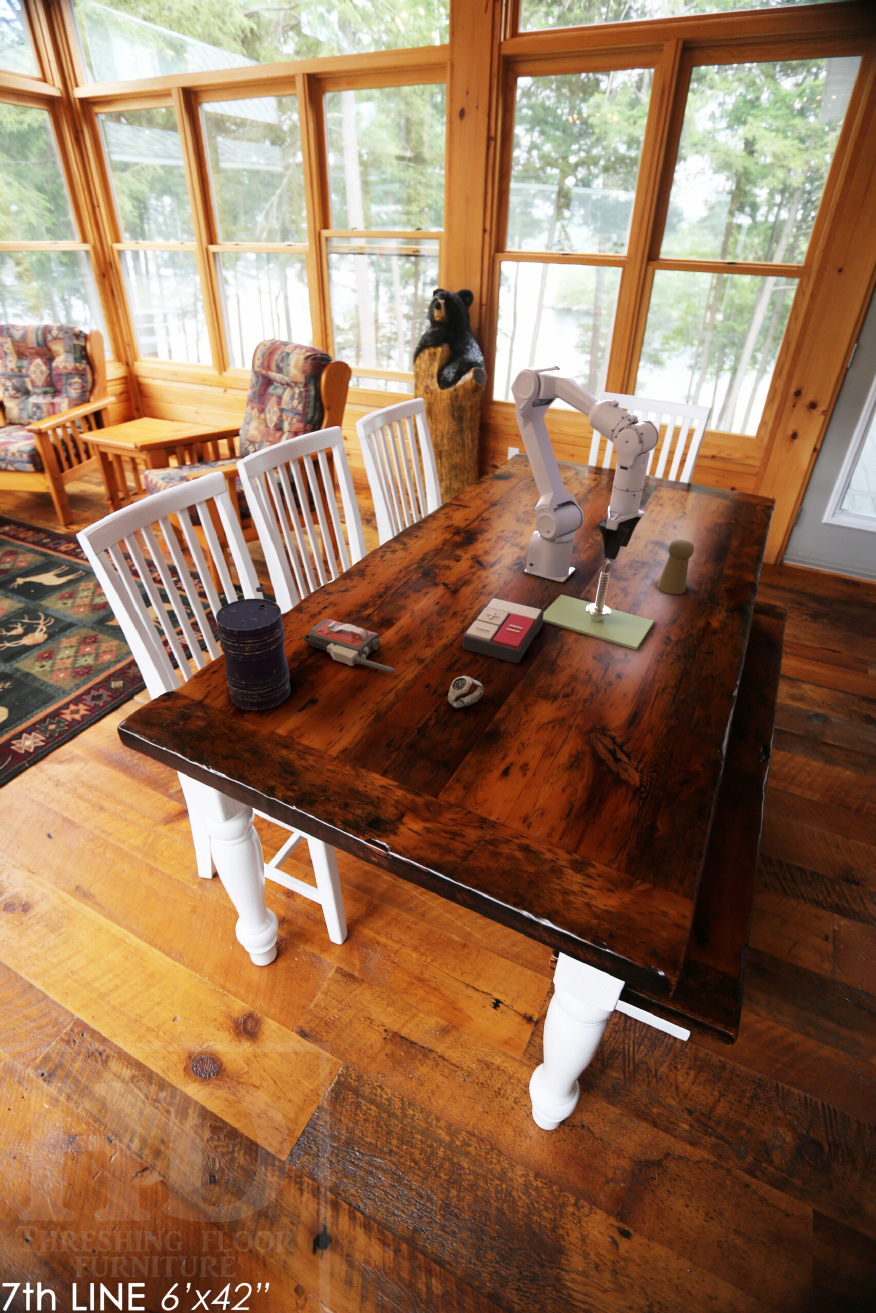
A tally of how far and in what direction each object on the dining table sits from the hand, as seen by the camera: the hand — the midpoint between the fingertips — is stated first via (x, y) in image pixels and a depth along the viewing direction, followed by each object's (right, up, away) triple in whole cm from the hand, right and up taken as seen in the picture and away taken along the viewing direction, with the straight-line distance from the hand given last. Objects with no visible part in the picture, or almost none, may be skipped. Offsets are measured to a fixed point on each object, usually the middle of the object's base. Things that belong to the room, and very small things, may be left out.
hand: (616, 551), depth 133 cm
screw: (-5, -14, -4) cm, 16 cm away
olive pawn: (+15, -7, +10) cm, 19 cm away
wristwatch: (-32, -30, -27) cm, 52 cm away
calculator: (-24, -18, -10) cm, 32 cm away
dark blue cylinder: (-66, -28, -26) cm, 76 cm away
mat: (-5, -15, -4) cm, 16 cm away
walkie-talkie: (-52, -21, -16) cm, 58 cm away
